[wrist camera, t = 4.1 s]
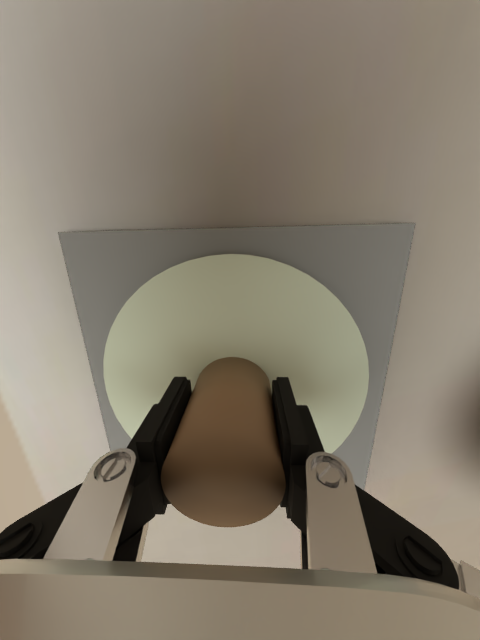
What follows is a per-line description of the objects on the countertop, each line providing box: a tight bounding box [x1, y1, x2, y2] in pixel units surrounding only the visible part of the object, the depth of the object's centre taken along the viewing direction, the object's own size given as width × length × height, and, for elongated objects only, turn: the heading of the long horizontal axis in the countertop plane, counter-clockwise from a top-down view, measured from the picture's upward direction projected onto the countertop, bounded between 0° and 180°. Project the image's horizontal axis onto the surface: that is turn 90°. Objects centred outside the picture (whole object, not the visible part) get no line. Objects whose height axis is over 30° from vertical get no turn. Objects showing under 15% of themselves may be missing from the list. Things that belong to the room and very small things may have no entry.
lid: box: [103, 254, 369, 527], centre depth 10 cm, size 14×14×6 cm
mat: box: [58, 223, 415, 490], centre depth 13 cm, size 17×17×1 cm
